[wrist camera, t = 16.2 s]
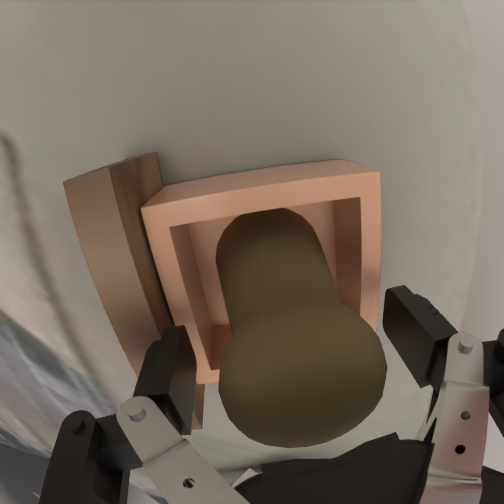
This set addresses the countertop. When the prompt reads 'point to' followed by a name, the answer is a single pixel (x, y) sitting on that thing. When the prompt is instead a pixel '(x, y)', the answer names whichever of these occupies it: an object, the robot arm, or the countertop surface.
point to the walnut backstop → (125, 254)
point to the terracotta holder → (252, 200)
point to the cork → (291, 336)
